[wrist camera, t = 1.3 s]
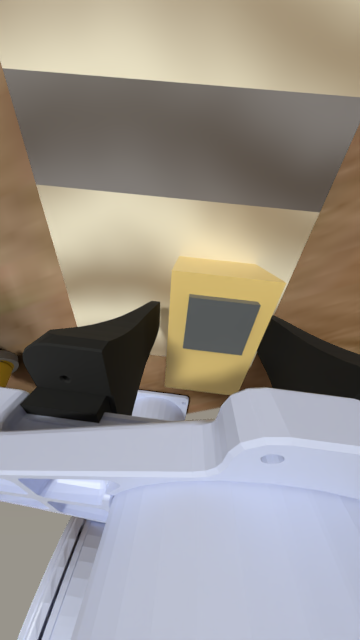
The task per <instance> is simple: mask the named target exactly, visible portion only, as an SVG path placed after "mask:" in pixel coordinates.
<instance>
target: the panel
mask: <svg viewBox="0 0 360 640" xmlns="http://www.w3.org/2000/svg"><path fill="white" fill-rule="evenodd" d="M0 61H1V65H2V68H3V72H4V75H5V78H6V82H7V85H8V89H9V92H10V96H11V99H12V103H13V106H14V109H15V113H16V116H17V120H18V123H19V127H20V130H21V134H22V137H23V141H24V144H25V147H26V151H27V154H28V158H29V161H30V165H31V168H32V172H33V175H34V178H35V182H36V185H37V189H38V192H39V196H40V199H41V203H42V206H43V210H44V213H45V216H46V220H47V223H48V227H49V230H50V234H51V237H52V241H53V244H54V247H55V251H56V254H57V258H58V261H59V265H60V268H61V272H62V275H63V279H64V282H65V285H66V289H67V292H68V296H69V299H70V303H71V306H72V310H73V313H74V316H75V320H76V323H77V327H81V326H86V325H92V324H96V323H100V322H104V321H108V320H111V319H114V318H117V317H120V316H122V315H125V314H127V313H129V312H131V311H133V310H135V309H137V308H139V307H141V306H143V305H145V304H146V303H148V302H150V301H158V302H160V327H159V331H158V335H157V338H156V340H155V343H154V345H153V347H152V350H151V352H150V355H158V356H167V341H168V324H169V307H170V291H171V274H172V269H173V267H174V265H175V263H176V261H177V259H178V257H179V256H184V257H193V258H203V259H212V260H221V261H231V262H240V263H249V264H256V265H258V266H260V267H261V268H263V269H265V270H266V271H268V272H269V273H271V274H273V275H274V276H276V277H278V278H279V279H281V280H283V281H284V282H286V285H285V288H284V290H283V292H282V294H281V297H280V299H279V301H278V303H277V306H276V308H275V310H274V312H273V315H274V314H275V311H276V309H277V307H278V305H279V302H280V300H281V298H282V296H283V293H284V291H285V289H286V287H287V285H288V282H289V280H290V278H291V276H292V273H293V271H294V269H295V267H296V264H297V262H298V260H299V258H300V255H301V253H302V251H303V249H304V246H305V244H306V242H307V240H308V237H309V235H310V233H311V231H312V229H313V226H314V224H315V222H316V220H317V217H318V215H319V213H320V211H321V208H322V206H323V204H324V202H325V199H326V197H327V195H328V193H329V190H330V188H331V186H332V184H333V181H334V179H335V177H336V175H337V173H338V170H339V168H340V166H341V164H342V161H343V159H344V157H345V155H346V152H347V150H348V148H349V146H350V143H351V141H352V139H353V137H354V134H355V132H356V130H357V128H358V126H359V123H360V0H0ZM256 354H257V351H256V353H255V356H256ZM255 356H254V358H255ZM254 358H253V360H252V362H251V365H252V363H253V361H254ZM251 365H250V367H251Z"/></svg>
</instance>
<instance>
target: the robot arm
mask: <svg viewBox="0 0 360 640" xmlns="http://www.w3.org/2000/svg"><path fill="white" fill-rule="evenodd" d="M159 327H160V302H158V301H150V302H148V303H146V304H145V305H143V306H141V307H139V308H137V309H135V310H133V311H131V312H129V313H127V314H125V315H122V316H120V317H117V318H114V319H111V320H108V321H104V322H100V323H96V324H92V325H86V326H81V327H74V328H65V329H55V330H49V331H48V332H47V333H45V334H44V335H42V336H41V337H40V338H38V339H37V340H36V341H34V342H33V343H32V344H30V345H29V346H27V347H26V348H25V349H24V352H23V362H24V365H25V367H26V369H27V370H28V372H29V374H30V375H31V377H32V379H33V381H34V382H35V384H36V386H37V388H36V389H35V390H34V391H33V392H32V393H31V394H30V393H28V392H26V391H24V390H20V389H12V388H5V387H0V501H2V502H7V503H13V504H17V505H23V506H28V507H33V508H37V509H42V510H46V511H51V512H56V513H61V514H66V515H70V516H72V517H71V518H70V520H69V522H68V524H67V526H66V528H65V530H64V532H63V534H62V536H61V538H60V540H59V542H58V545H57V547H56V549H55V551H54V553H53V555H52V557H51V560H50V562H49V564H48V566H47V569H46V571H45V573H44V576H43V578H42V580H41V583H40V585H39V587H38V590H37V592H36V594H35V597H34V599H33V601H32V604H31V606H30V609H29V611H28V613H27V616H26V618H25V621H24V623H23V626H22V628H21V631H20V634H19V636H18V638H17V640H360V355H359V354H356V353H354V352H351V351H348V350H345V349H343V348H340V347H338V346H335V345H333V344H330V343H328V342H326V341H323V340H321V339H319V338H317V337H315V336H313V335H311V334H309V333H307V332H305V331H303V330H301V329H299V328H297V327H295V326H293V325H292V324H290V323H288V322H286V321H284V320H282V319H280V318H278V317H276V316H274V315H272V317H271V319H270V322H269V324H268V326H267V328H266V331H265V333H264V335H263V337H262V340H261V342H260V344H259V346H258V349H257V353H258V355H259V357H260V359H261V361H262V364H263V366H264V368H265V370H266V372H267V374H268V376H269V379H270V381H271V384H272V387H273V388H268V387H261V388H246V389H244V390H241V391H239V392H236V393H233V394H232V395H231V396H230V397H229V398H228V399H227V400H226V401H225V402H224V403H223V404H222V405H221V408H220V410H219V413H218V416H217V418H216V419H203V420H186V421H185V417H186V412H187V407H188V401H189V398H188V397H187V396H183V395H175V394H167V393H160V392H152V391H144V390H138V389H139V386H140V382H141V378H142V375H143V371H144V368H145V365H146V362H147V359H148V357H149V355H150V352H151V350H152V347H153V345H154V343H155V340H156V338H157V335H158V331H159Z"/></svg>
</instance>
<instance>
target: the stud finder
mask: <svg viewBox="0 0 360 640" xmlns="http://www.w3.org/2000/svg"><path fill="white" fill-rule="evenodd" d="M285 285H286V282H284V281H283V280H281V279H279V278H278V277H276V276H274V275H273V274H271V273H269V272H268V271H266V270H265V269H263V268H261V267H260V266H258V265H256V264H249V263H240V262H231V261H221V260H212V259H203V258H193V257H184V256H179V257H178V259H177V261H176V263H175V265H174V267H173V269H172V274H171V291H170V307H169V324H168V341H167V357H166V374H165V387H169V388H177V389H185V390H192V391H200V392H208V393H216V394H224V395H232V394H233V393H236V392H239V390H240V387H241V385H242V383H243V380H244V378H245V376H246V374H247V371H248V369H249V367H250V365H251V362H252V360H253V358H254V356H255V353H256V351H257V349H258V346H259V344H260V342H261V340H262V337H263V335H264V333H265V331H266V328H267V326H268V324H269V322H270V319H271V317H272V315H273V312H274V310H275V308H276V306H277V303H278V301H279V299H280V297H281V294H282V292H283V290H284V288H285Z"/></svg>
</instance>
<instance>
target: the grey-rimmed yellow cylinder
mask: <svg viewBox="0 0 360 640" xmlns="http://www.w3.org/2000/svg"><path fill="white" fill-rule="evenodd" d="M18 367H19V363H18V357H17V355H16V354H14V353H12V352H9V351H3V350H0V387H6V385H7V383H8V380H9V378H10V376H11V374H12V373H13V372H15V371H16V370H17V369H18Z"/></svg>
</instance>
